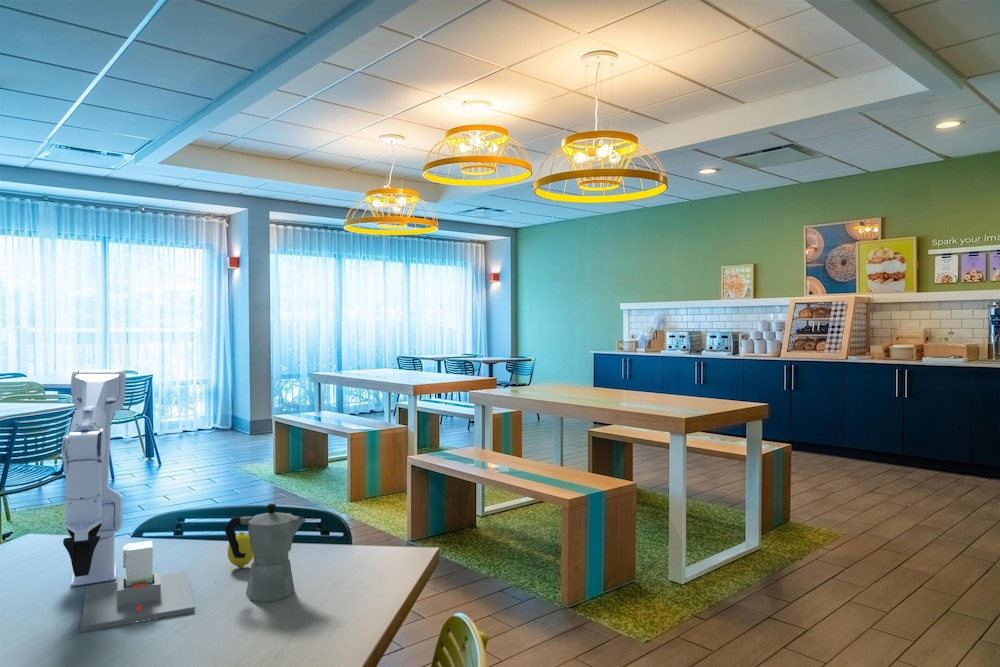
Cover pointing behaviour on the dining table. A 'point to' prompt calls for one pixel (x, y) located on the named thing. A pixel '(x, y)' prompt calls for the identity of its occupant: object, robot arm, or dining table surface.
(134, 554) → the white rectangular block
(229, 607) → the dining table surface
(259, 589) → the coffeepot
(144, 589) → the jack base
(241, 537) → the lemon
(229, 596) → the dining table surface
